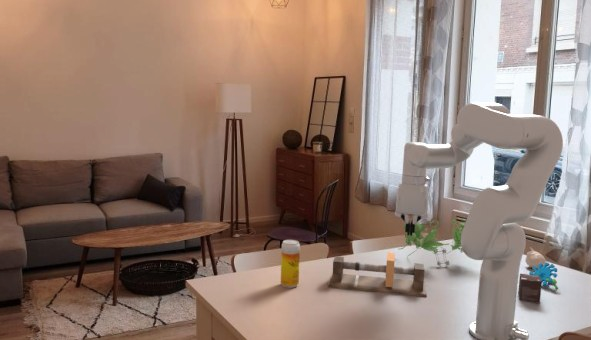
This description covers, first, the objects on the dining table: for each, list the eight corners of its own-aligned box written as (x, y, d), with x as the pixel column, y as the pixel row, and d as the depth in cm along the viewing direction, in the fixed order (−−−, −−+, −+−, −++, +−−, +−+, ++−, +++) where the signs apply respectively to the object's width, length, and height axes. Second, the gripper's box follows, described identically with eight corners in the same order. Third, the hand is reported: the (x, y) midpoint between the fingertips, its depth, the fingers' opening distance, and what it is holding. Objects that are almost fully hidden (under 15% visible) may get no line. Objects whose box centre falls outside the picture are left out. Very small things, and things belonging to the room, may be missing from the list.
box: (537, 297, 164) (540, 275, 163) (540, 304, 159) (542, 281, 158) (517, 294, 166) (519, 273, 165) (519, 300, 161) (521, 278, 160)
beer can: (296, 289, 164) (298, 245, 162) (278, 287, 166) (279, 243, 164) (300, 282, 170) (301, 240, 168) (282, 281, 171) (284, 238, 169)
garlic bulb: (540, 266, 196) (542, 246, 195) (546, 271, 190) (549, 251, 189) (523, 265, 197) (524, 245, 196) (528, 270, 191) (530, 250, 190)
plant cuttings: (390, 278, 197) (413, 259, 178) (381, 238, 205) (402, 215, 186) (469, 274, 205) (499, 255, 186) (458, 235, 213) (485, 213, 194)
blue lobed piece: (522, 275, 180) (543, 256, 180) (530, 285, 182) (551, 267, 181) (541, 290, 170) (563, 271, 169) (549, 301, 172) (572, 281, 171)
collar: (393, 278, 173) (394, 253, 172) (392, 287, 165) (394, 261, 163) (385, 277, 174) (387, 252, 173) (385, 286, 165) (386, 260, 164)
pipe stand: (424, 283, 173) (426, 261, 172) (426, 296, 161) (428, 273, 160) (332, 275, 179) (333, 253, 178) (328, 286, 167) (329, 263, 166)
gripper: (436, 180, 166) (431, 233, 168) (390, 176, 168) (386, 229, 171) (438, 183, 158) (433, 239, 161) (390, 180, 161) (386, 235, 164)
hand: (409, 234), depth 166 cm, fingers closed
